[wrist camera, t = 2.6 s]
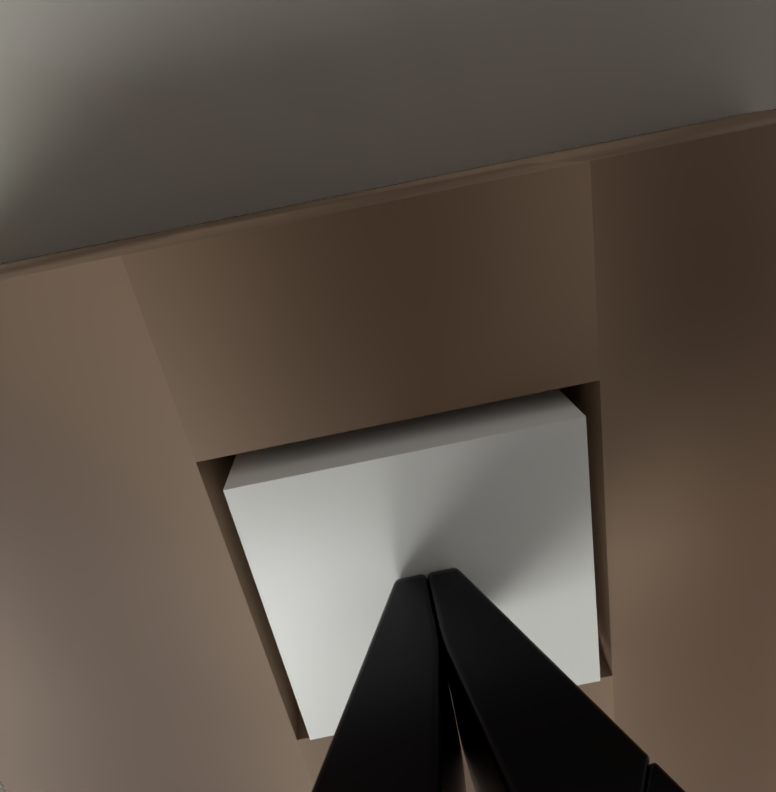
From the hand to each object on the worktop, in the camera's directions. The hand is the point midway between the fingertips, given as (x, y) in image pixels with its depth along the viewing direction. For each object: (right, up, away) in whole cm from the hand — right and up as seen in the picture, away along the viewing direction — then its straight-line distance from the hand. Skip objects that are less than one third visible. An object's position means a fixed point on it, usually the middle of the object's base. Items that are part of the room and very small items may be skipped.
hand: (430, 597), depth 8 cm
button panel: (+1, -6, +7) cm, 9 cm away
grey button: (0, +1, +3) cm, 3 cm away
